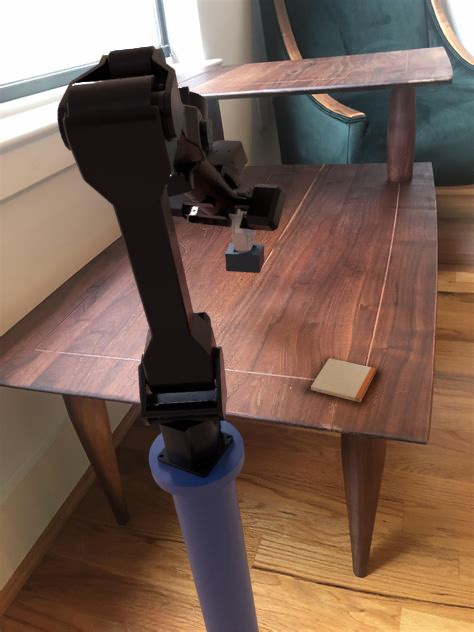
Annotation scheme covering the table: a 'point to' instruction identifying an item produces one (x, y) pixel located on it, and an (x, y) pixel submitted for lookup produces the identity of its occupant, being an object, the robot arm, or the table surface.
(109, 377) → the table surface
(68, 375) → the table surface
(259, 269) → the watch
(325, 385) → the mat
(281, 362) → the table surface
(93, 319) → the table surface
